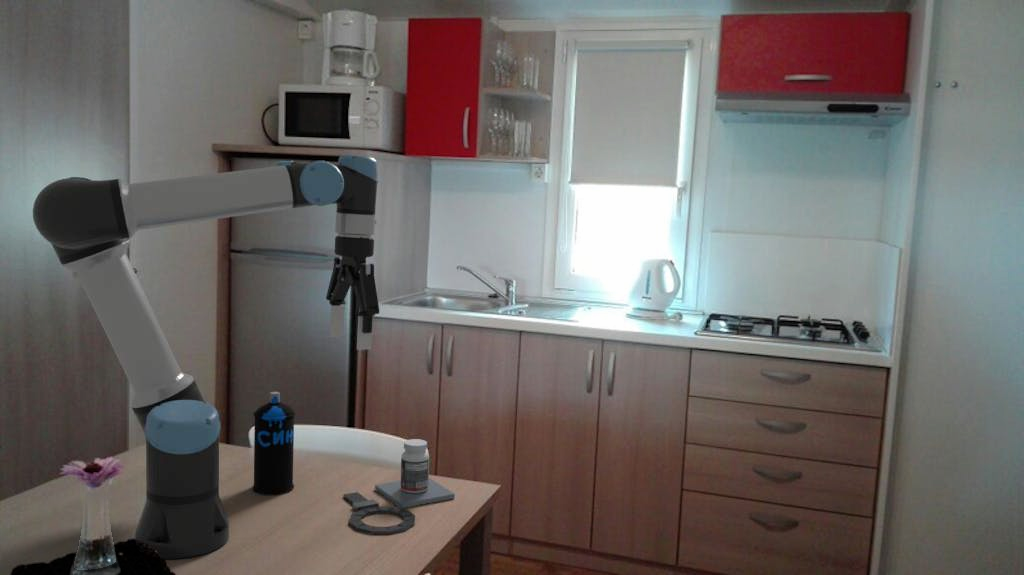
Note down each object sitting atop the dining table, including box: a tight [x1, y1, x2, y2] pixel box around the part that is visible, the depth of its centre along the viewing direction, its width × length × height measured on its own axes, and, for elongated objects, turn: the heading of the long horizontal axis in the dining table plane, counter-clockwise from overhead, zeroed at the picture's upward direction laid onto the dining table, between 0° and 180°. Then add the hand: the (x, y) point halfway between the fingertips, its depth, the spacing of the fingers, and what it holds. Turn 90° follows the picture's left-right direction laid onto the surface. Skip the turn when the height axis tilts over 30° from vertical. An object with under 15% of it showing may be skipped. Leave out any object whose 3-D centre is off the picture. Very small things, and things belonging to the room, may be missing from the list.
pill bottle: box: [400, 438, 430, 493], centre depth 174 cm, size 6×6×10 cm
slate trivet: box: [374, 477, 456, 509], centre depth 175 cm, size 12×12×1 cm
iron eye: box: [342, 491, 416, 535], centre depth 163 cm, size 12×21×1 cm, turn 34°
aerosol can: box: [252, 391, 296, 496], centre depth 173 cm, size 8×8×20 cm
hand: (349, 343), depth 168 cm, fingers open, 13 cm apart
